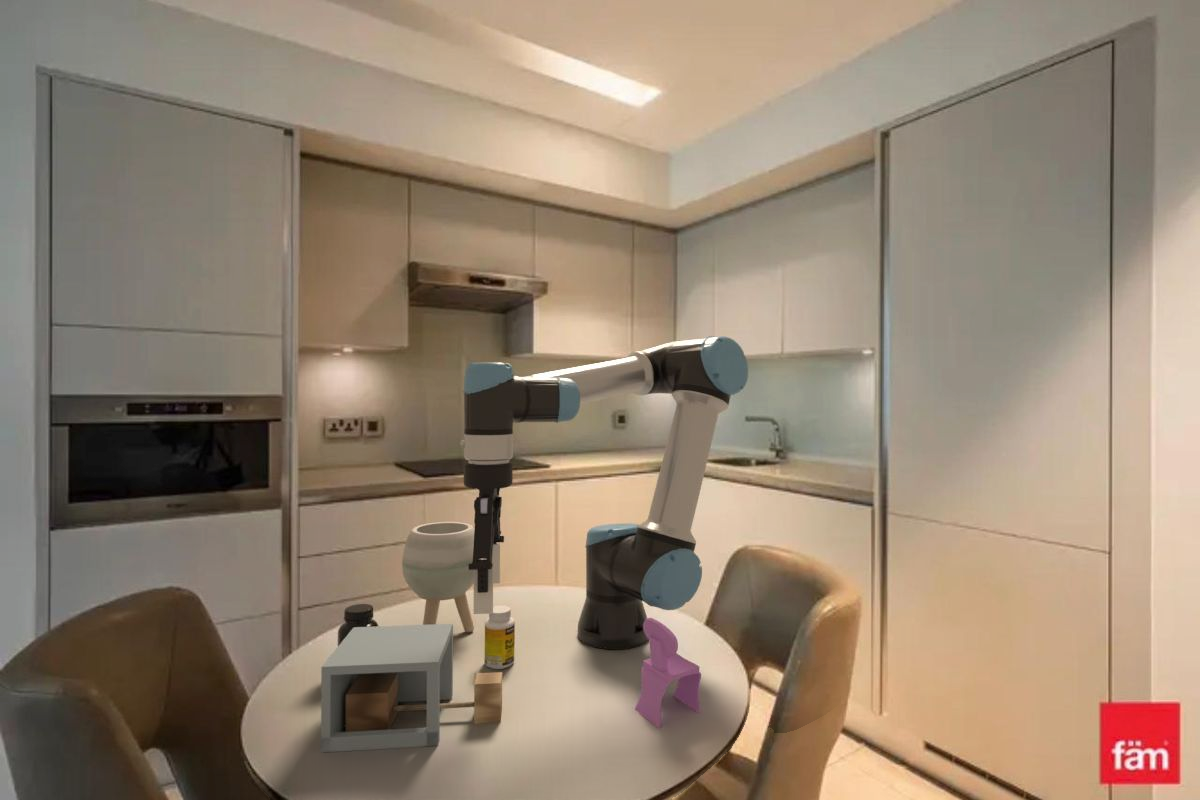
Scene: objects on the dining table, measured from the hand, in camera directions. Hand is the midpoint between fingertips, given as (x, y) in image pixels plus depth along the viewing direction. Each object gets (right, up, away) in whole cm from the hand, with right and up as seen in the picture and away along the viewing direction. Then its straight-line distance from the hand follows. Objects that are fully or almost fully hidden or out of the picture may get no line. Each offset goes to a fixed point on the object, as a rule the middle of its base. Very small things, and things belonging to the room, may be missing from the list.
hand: (487, 597), depth 90 cm
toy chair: (+29, -19, +2) cm, 34 cm away
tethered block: (-9, -19, -1) cm, 21 cm away
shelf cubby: (-14, -19, -2) cm, 23 cm away
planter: (-16, -19, +31) cm, 40 cm away
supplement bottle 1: (-26, -19, +13) cm, 35 cm away
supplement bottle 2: (-1, -19, +18) cm, 26 cm away
